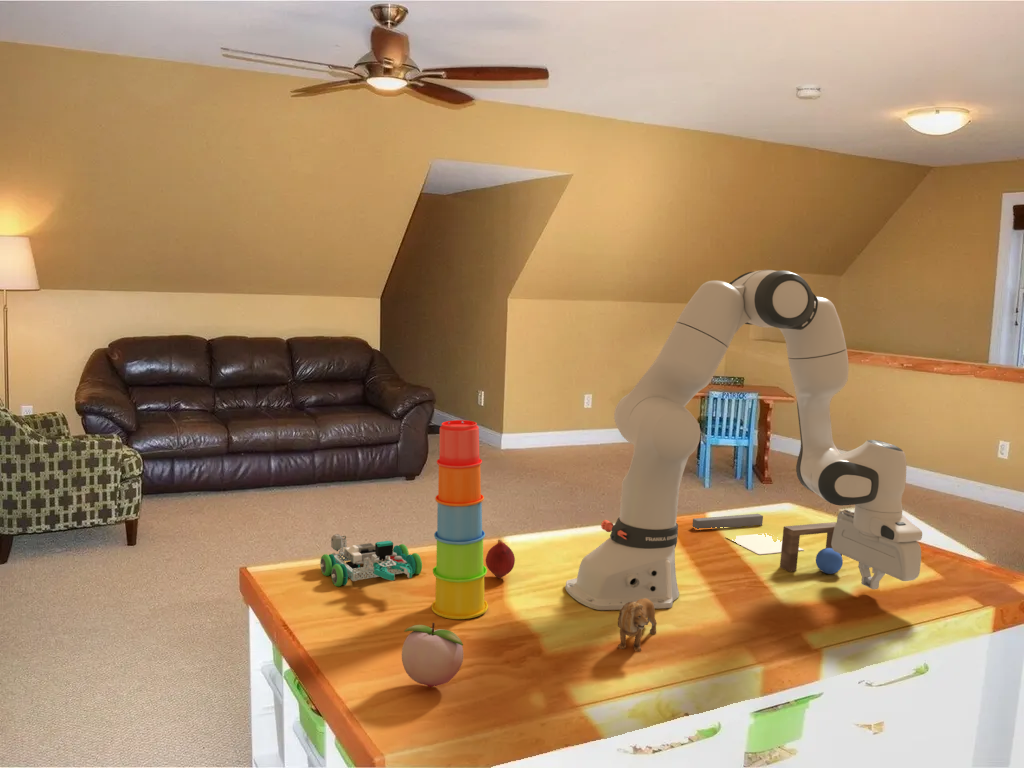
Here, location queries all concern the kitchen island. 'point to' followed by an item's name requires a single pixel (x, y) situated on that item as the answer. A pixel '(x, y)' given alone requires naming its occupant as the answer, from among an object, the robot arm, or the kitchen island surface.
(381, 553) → the robot kit
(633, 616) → the lion figurine
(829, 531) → the bridge
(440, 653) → the decorative fruit
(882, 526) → the robot arm
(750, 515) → the wall
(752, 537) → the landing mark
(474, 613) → the stacking cups
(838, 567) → the ball
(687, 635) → the kitchen island surface
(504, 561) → the onion
